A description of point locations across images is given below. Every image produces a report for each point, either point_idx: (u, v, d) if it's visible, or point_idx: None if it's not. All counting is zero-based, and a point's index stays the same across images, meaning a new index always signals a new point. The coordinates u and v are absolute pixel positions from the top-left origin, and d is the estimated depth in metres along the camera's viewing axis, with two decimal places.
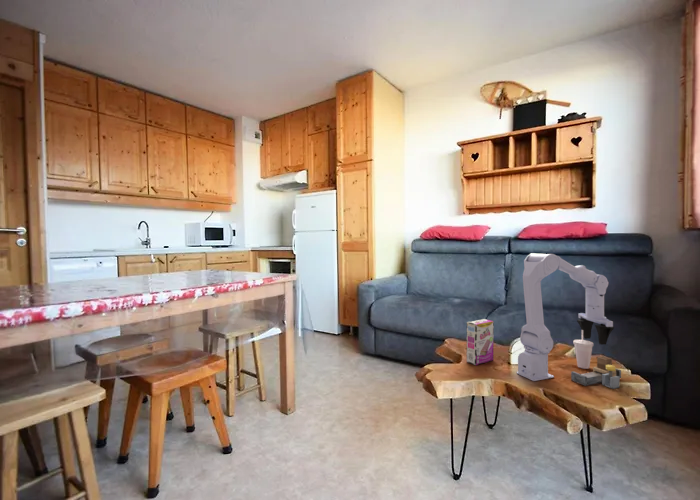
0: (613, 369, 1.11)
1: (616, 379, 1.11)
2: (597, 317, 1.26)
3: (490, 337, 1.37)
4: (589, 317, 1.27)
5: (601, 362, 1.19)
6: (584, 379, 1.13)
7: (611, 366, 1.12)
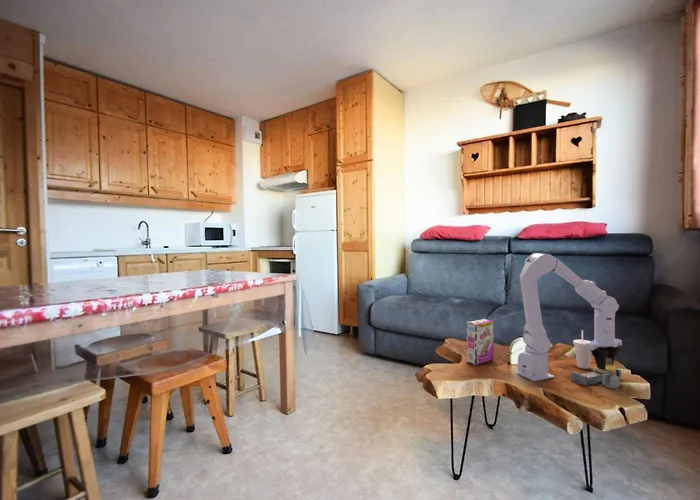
0: (613, 369, 1.11)
1: (616, 379, 1.11)
2: (596, 340, 1.19)
3: (490, 337, 1.37)
4: None
5: None
6: (584, 379, 1.13)
7: (611, 366, 1.12)
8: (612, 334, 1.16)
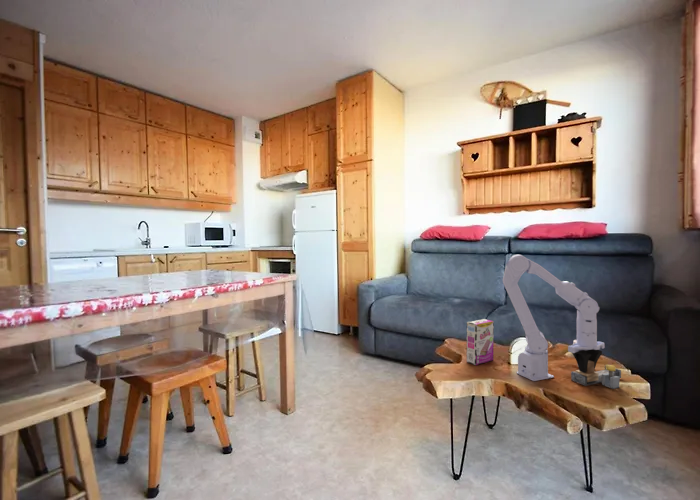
0: (613, 369, 1.11)
1: (616, 379, 1.11)
2: (578, 343, 1.16)
3: (490, 337, 1.37)
4: None
5: None
6: (584, 379, 1.13)
7: (611, 366, 1.12)
8: (594, 337, 1.14)
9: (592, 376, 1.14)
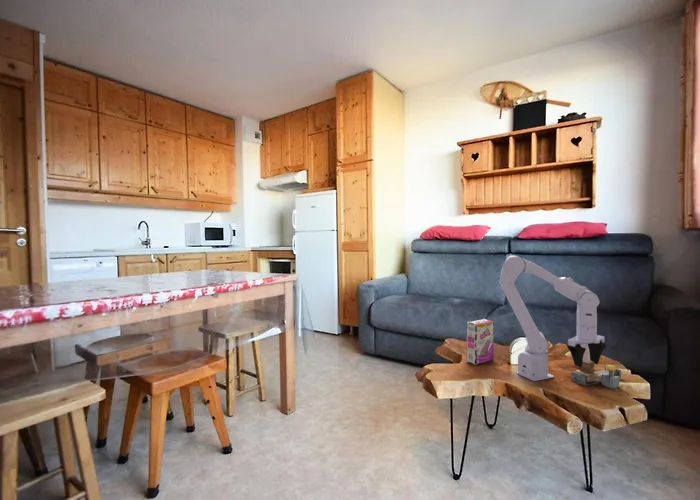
0: (613, 369, 1.11)
1: (616, 379, 1.11)
2: (577, 336, 1.16)
3: (490, 337, 1.37)
4: None
5: (583, 365, 1.16)
6: (584, 379, 1.13)
7: (611, 366, 1.12)
8: (594, 330, 1.13)
9: (592, 376, 1.14)
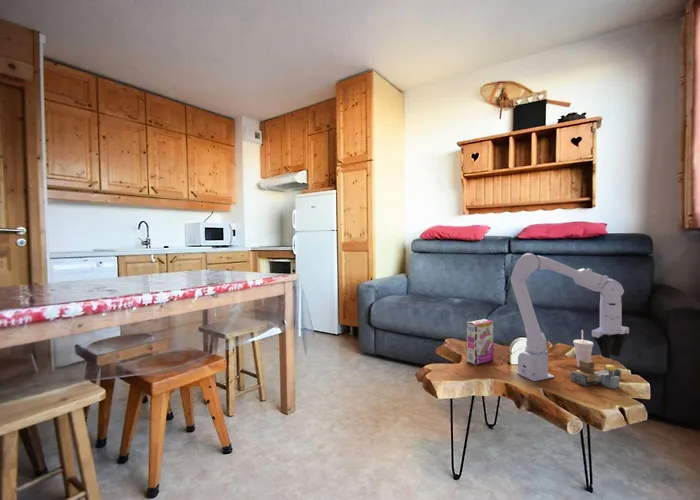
0: (613, 369, 1.11)
1: (616, 379, 1.11)
2: (601, 327, 1.12)
3: (490, 337, 1.37)
4: None
5: (583, 365, 1.16)
6: (584, 379, 1.13)
7: (611, 366, 1.12)
8: (619, 320, 1.09)
9: (592, 376, 1.14)
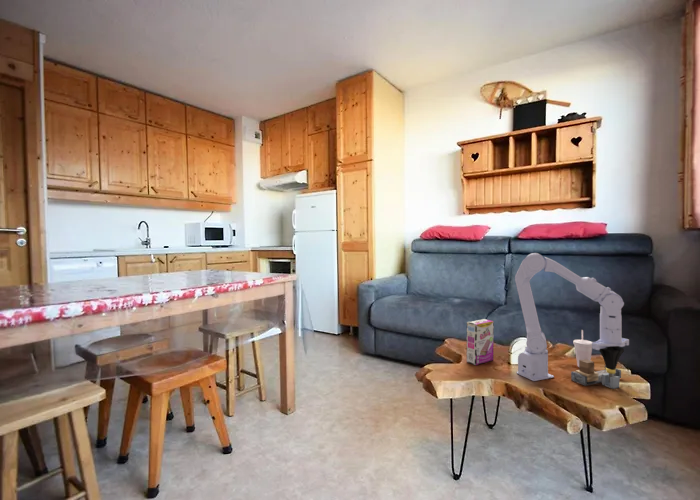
0: (613, 371, 1.11)
1: (616, 379, 1.11)
2: (601, 339, 1.12)
3: (490, 337, 1.37)
4: None
5: (583, 365, 1.16)
6: (584, 379, 1.13)
7: None
8: (619, 333, 1.09)
9: (592, 376, 1.14)
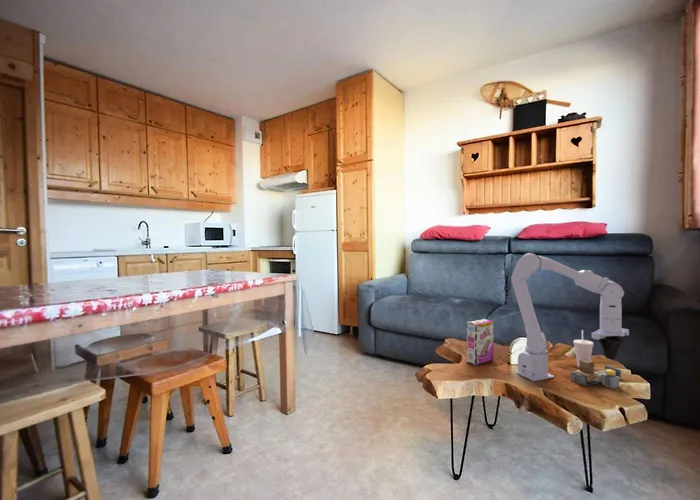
0: (613, 374, 1.11)
1: (616, 379, 1.11)
2: (601, 329, 1.12)
3: (490, 337, 1.37)
4: None
5: (583, 365, 1.16)
6: (584, 379, 1.13)
7: (611, 371, 1.12)
8: (619, 323, 1.09)
9: (592, 376, 1.14)
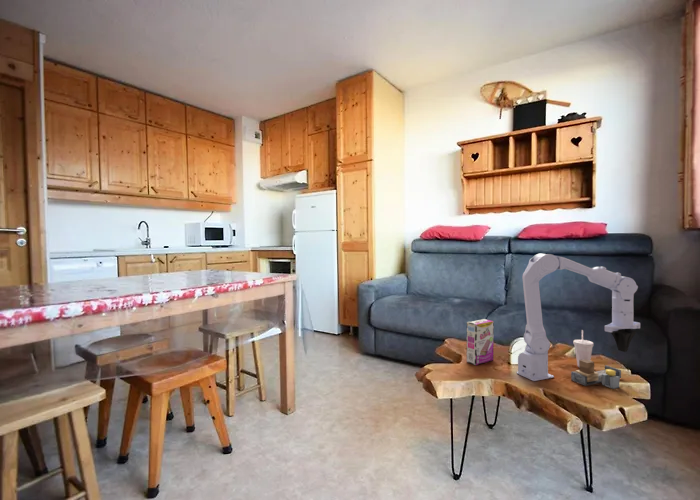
0: (613, 374, 1.11)
1: (616, 379, 1.11)
2: (613, 322, 1.16)
3: (490, 337, 1.37)
4: None
5: (583, 365, 1.16)
6: (584, 379, 1.13)
7: (611, 371, 1.12)
8: (631, 316, 1.13)
9: (592, 376, 1.14)
